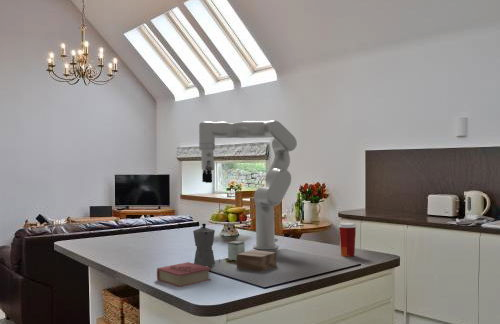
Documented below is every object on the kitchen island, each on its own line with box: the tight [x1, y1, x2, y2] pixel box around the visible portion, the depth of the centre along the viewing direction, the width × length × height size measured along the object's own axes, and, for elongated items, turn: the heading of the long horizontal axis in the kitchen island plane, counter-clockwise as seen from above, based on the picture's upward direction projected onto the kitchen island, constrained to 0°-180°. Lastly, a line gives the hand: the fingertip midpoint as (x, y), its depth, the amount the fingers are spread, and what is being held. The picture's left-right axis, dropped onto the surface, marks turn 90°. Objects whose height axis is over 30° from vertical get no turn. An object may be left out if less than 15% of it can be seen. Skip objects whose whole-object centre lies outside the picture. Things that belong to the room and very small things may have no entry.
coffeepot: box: [193, 223, 216, 267], centre depth 202 cm, size 15×9×18 cm, turn 13°
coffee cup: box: [337, 222, 357, 258], centre depth 219 cm, size 8×8×15 cm
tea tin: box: [227, 240, 246, 262], centre depth 212 cm, size 5×5×8 cm
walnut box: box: [236, 249, 277, 272], centre depth 197 cm, size 12×12×6 cm
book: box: [156, 261, 212, 288], centre depth 175 cm, size 14×15×5 cm
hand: (207, 182), depth 227 cm, fingers open, 9 cm apart
